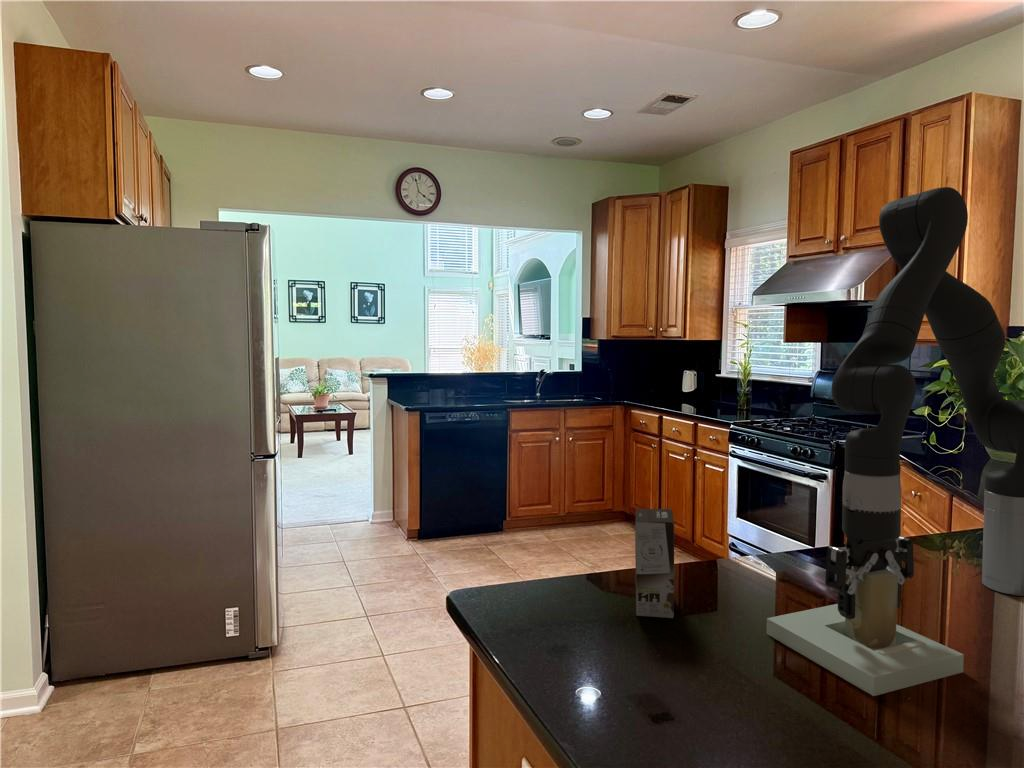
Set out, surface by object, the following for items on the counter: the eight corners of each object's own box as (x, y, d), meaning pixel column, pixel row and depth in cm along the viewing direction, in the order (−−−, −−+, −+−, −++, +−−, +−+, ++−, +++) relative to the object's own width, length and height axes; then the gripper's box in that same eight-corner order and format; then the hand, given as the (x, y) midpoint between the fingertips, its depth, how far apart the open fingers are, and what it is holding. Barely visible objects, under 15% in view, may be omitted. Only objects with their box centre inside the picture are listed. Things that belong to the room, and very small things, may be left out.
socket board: (846, 616, 114) (847, 600, 114) (963, 672, 95) (963, 653, 95) (766, 633, 109) (766, 617, 108) (873, 696, 90) (873, 675, 90)
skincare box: (843, 640, 106) (844, 561, 105) (870, 638, 106) (871, 559, 105) (869, 660, 99) (870, 576, 98) (897, 658, 100) (899, 574, 99)
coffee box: (675, 619, 115) (674, 522, 114) (635, 616, 116) (634, 521, 115) (673, 597, 124) (673, 508, 123) (636, 595, 125) (635, 507, 124)
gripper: (886, 492, 107) (884, 595, 108) (812, 502, 102) (811, 610, 103) (931, 503, 100) (928, 613, 101) (853, 514, 95) (852, 630, 96)
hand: (869, 612), depth 102 cm, fingers open, 8 cm apart
